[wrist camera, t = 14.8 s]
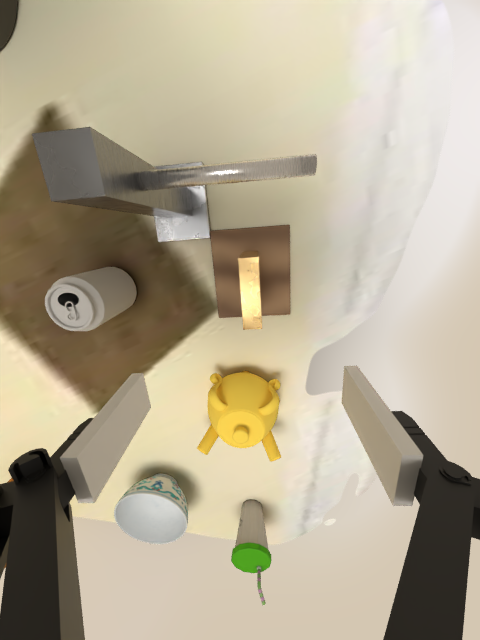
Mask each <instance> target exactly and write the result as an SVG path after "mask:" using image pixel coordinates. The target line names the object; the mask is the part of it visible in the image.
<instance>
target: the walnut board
mask: <svg viewBox="0 0 480 640" xmlns="http://www.w3.org/2000/svg"><path fill="white" fill-rule="evenodd" d="M210 238H211V247H212V257H213V266H214V276H215V285H216V295H217V304H218V314H219V318H226V317H242V304H241V290H240V277H239V263H238V258H239V256H240V255H241V253H242V252H247V251H258V256H259V276H260V297H261V316H267V315H287V314H290V225H280V226H267V227H254V228H241V229H228V230H215V231H210Z"/></svg>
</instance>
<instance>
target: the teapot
mask: <svg viewBox="0 0 480 640" xmlns="http://www.w3.org/2000/svg"><path fill="white" fill-rule="evenodd" d="M210 380H211V382H212V383H214V384H215V385H214V386H213V387H212V388H211V389H210V391H209V393H208V414H209V418H210V421H211V426H210V427H209V429H208V431H207V432H206V434H205V436H204V437H203V439H202V441H201V442H200V444H199V446H198V447H197V449H198V450H200V451H201V452H202V453H204V454H206V455H207V454H208V452H209V451H210V449H211V448H212V446H213V444H214V443H215V441H216V439H217V438H218V436H219V437H220V438H221V439H222V440H223V441H224V442H226V443H227V444H229V445H231V446H233V447H237V448H247V447H251V446H254V445H256V444H257V443H259V442H260V441H261V440H262V443H263V445H264V448H265V450H266V452H267V455H268V457H269V460H270V461H274V460H277V459H279V458H280V457H281V455H280V452H279V450H278V447H277V445H276V442H275V440H274V437H273V435H272V432H271V429H272V427H273V426H274V424H275V421H276V418H277V414H278V407H279V402H280V400H279V396H278V394H277V393H276V391H275V390H278V389H279V388H280V382H279V380H277V379H272V380H270V381H269V382H267V381H266V380H264V379H263V378H261V377H259V376H257V375H254V374H251V373H250V372H248V371H242V372H241V373H234V374H230V375H227V376H225V377H223V378H222V377H221V376H220V375H219V374H217V373H215V374H212V375H211V377H210Z"/></svg>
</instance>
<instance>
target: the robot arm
mask: <svg viewBox="0 0 480 640" xmlns="http://www.w3.org/2000/svg"><path fill="white" fill-rule="evenodd" d="M16 14H17V0H0V50H1V49H2V48H3V46H4V45H5V44H6V42H7V41H8V39H9V38H10V35H11V33H12V31H13V28H14V24H15V20H16ZM342 404H343V406H344V408H345V410H346V412H347V414H348V416H349V418H350V420H351V422H352V424H353V426H354V428H355V430H356V432H357V434H358V436H359V438H360V440H361V442H362V444H363V446H364V448H365V450H366V452H367V454H368V456H369V458H370V460H371V462H372V464H373V466H374V468H375V470H376V472H377V474H378V476H379V478H380V480H381V482H382V484H383V486H384V488H385V490H386V492H387V494H388V497H389V499H390V501H391V503H392V504H393V505H394V506H395V505H396V506H402V505H403V506H412V505H413V500H414V496H415V497H416V499H417V500H418V502H419V504H420V507H419V511H418V514H417V518H416V521H415V525H414V529H413V532H412V536H411V540H410V544H409V547H408V551H407V555H406V558H405V562H404V566H403V569H402V573H401V577H400V581H399V584H398V588H397V592H396V595H395V599H394V603H393V606H392V610H391V614H390V617H389V621H388V625H387V629H386V632H385V636H384V640H462V635H463V624H464V612H465V600H466V590H467V577H468V566H469V555H470V544H471V537H473V538H476V539H479V540H480V479H477V478H474V477H472V476H471V475H470V473H468V472H467V471H466V470H465V469H464V468H462V467H460V466H459V465H457V464H455V463H452V462H449V461H447V460H446V459H445V457H444V456H443V455H442V454H441V452H440V451H439V450H438V449H437V448H436V446H435V445H434V444H433V443H432V442H431V440H430V439H429V438H428V437H427V435H425V433H424V432H423V431H422V430H421V428H419V426H418V425H417V423H416V422H415V421H414V420H413V419H412V418H411V417H410V416H408V415H407V414H405V413H404V412H402V411H390V409H389V408H388V407H387V406H386V404H385V403H384V401H383V400H382V399H381V397H380V396H379V395H378V393H377V392H376V391H375V389H374V388H373V387H372V385H371V384H370V383H369V381H368V380H367V379H366V377H365V376H364V375H363V373H362V372H361V371H360V369H359V368H358V367H357V366H344V379H343V392H342ZM150 408H151V405H150V401H149V396H148V392H147V388H146V383H145V379H144V375H143V373H133V374H131V375H130V377H129V378H128V379H127V380H126V381H125V382H124V384H123V385H122V386H121V387H120V388H119V389H118V391H117V392H116V393H115V394H114V395H113V396H112V398H111V399H110V400H109V401H108V402H107V403H106V405H105V406H104V407H103V408H102V409H101V410H100V412H99V413H98V414H97V415H96V416H95V417H94V418H89V419H87V420H86V421H85V422H83V423H82V424H80V425H79V426H78V427H77V429H76V430H75V431H74V432H73V434H71V435H70V436H69V437H68V439H67V440H66V441H65V442H64V443H63V444H62V445H61V446H60V447H59V449H58V450H57V451H56V452H55V453H54V454H53V455H52V456H51V457H49V455H48V452H47V450H46V449H43V448H41V449H35V450H32V451H29V452H27V453H25V454H23V455H22V456H20V457H19V458H17V459H16V460H15V461H14V462H13V463H12V464H11V465H10V468H9V470H8V471H9V472H10V474H11V476H12V478H13V480H14V481H11V482H8V483H4V484H0V578H1V575H2V572H3V570H4V567H5V565H6V571H5V579H4V587H3V596H2V604H1V613H0V640H85V637H84V626H83V617H82V608H81V597H80V587H79V579H78V569H77V558H76V548H75V539H74V529H73V519H72V510H71V505H70V503H69V502H70V500H71V499H72V497H73V496H74V494H75V495H76V498H77V500H78V503H95V501H96V499H97V498H98V496H99V494H100V493H101V491H102V489H103V488H104V486H105V484H106V483H107V481H108V479H109V477H110V476H111V474H112V472H113V471H114V469H115V467H116V466H117V464H118V462H119V460H120V459H121V457H122V455H123V454H124V452H125V450H126V449H127V447H128V445H129V444H130V442H131V440H132V438H133V437H134V435H135V433H136V432H137V430H138V428H139V427H140V425H141V423H142V421H143V420H144V418H145V416H146V415H147V413H148V411H149V410H150Z"/></svg>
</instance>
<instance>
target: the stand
mask: <svg viewBox="0 0 480 640" xmlns="http://www.w3.org/2000/svg"><path fill="white" fill-rule="evenodd" d="M32 136H33V140H34V143H35V146H36V150H37V153H38V157H39V160H40V164H41V167H42V171H43V174H44V177H45V181H46V184H47V188H48V191H49V195H50V198H51V201H54V202H61V203H68V204H75V205H82V206H88V207H95V208H102V209H109V210H116V211H123V212H130V213H136V214H143V215H150V216H154V218H155V224H156V230H157V236H158V241H159V242H162V241H175V240H189V239H202V238H210V222H209V212H208V202H207V193H206V185H214V184H225V183H236V182H247V181H257V180H268V179H279V178H290V177H301V176H312V175H315V172H316V166H317V158H316V154H312V155H302V156H292V157H282V158H272V159H262V160H252V161H241V162H231V163H221V164H211V165H204V164H203V163H202V162H196V163H186V164H176V165H166V166H156V167H153V166H152V165H150V164H148V163H147V162H145V161H144V160H142V159H140V158H139V157H137V156H136V155H134V154H132V153H131V152H129V151H128V150H126V149H124V148H123V147H121V146H120V145H118V144H116V143H115V142H113V141H112V140H110V139H108V138H107V137H105V136H104V135H102V134H100V133H99V132H97V131H96V130H94V129H92V128H91V127H86V128H77V129H68V130H60V131H51V132H43V133H34V134H32Z"/></svg>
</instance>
